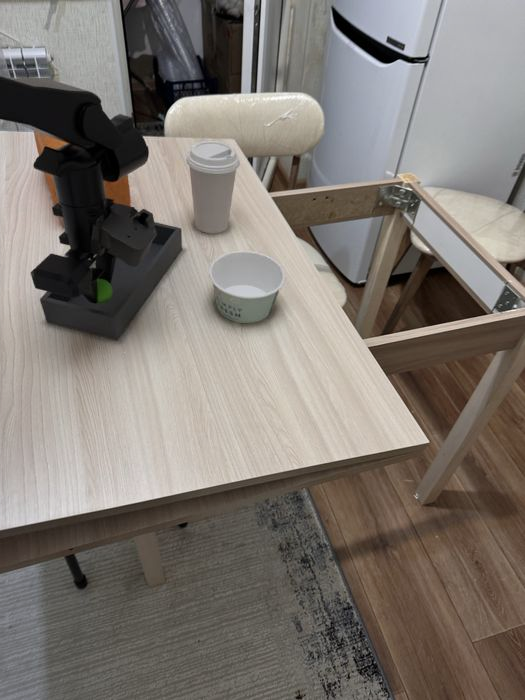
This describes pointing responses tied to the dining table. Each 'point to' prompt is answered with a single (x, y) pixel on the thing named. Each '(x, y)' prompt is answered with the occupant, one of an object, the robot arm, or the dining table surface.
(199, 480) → the dining table surface
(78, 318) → the tray
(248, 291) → the food container
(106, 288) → the pea
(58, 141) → the bread
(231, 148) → the coffee cup
